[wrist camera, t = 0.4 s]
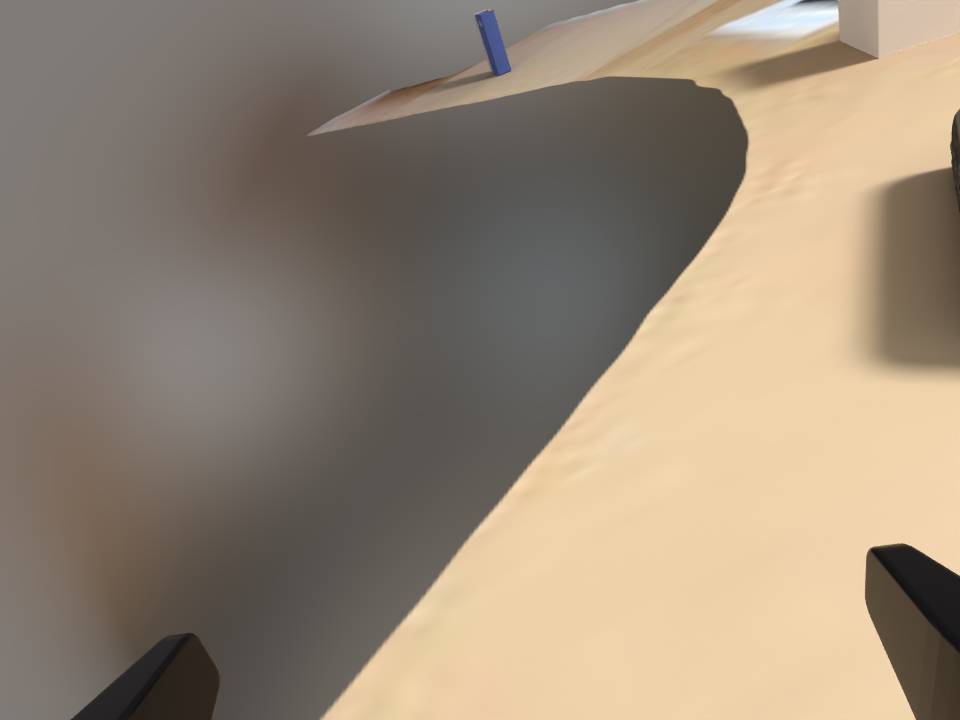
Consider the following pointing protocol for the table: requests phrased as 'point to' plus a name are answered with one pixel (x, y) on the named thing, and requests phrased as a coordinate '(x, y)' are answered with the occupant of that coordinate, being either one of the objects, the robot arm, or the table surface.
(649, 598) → the table surface
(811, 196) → the table surface
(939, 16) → the storage container
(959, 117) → the network switch
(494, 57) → the walkman
